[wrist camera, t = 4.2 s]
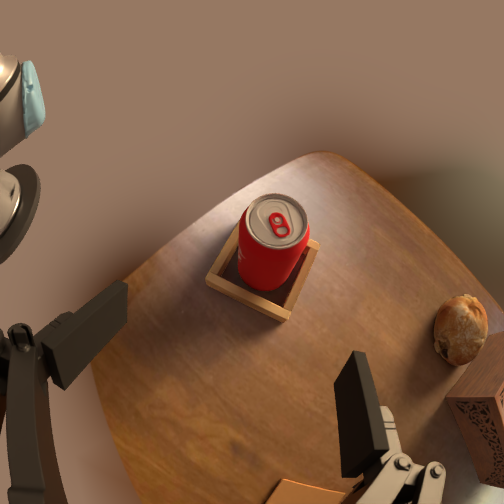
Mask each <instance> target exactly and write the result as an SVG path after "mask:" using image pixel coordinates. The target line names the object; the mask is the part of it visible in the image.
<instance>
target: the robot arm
mask: <svg viewBox="0 0 504 504" xmlns="http://www.w3.org/2000/svg"><path fill="white" fill-rule="evenodd" d="M44 119H45V108H44V102H43V97H42V93H41V89H40V85H39V81H38V77H37V74H36V71H35V68H34V65H33V63H32V62H31V61H27V62H23V63H22V65H20V64H19V62H18V60H17V58H16V57H15V56H12V55H10V56H2V54H1V52H0V157H2V156H3V155H4V154H5V153H7V152H8V151H9V150H11V149H12V148H13V147H14V146H15V145H17V144H18V143H20V142H21V141H22V140H24V139H25V138H27V137H28V136H29V135H30V134H31V133H32V132H34V131H35V130H36V129H38V128H39V127H40V126H41V125H42V124H43V122H44ZM22 193H23V191H22V185H21V183H20V182H19V181H18V179H17V178H16V177H14V176H13V175H12V174H10V173H7V172H5V171H3V170H1V169H0V239H1V238H2V237H3V236H4V235H5V233H6V232H7V231H8V229H9V228H10V226H11V225H12V223H13V221H14V219H15V217H16V215H17V213H18V210H19V207H20V204H21V200H22ZM127 293H128V284H127V283H124V282H122V281H119V280H116V281H115V282H114V283H112V284H111V285H110V286H108V287H107V288H106V289H104V290H103V291H102V292H100V293H99V294H98V295H97V296H95V297H94V298H93V299H91V300H90V301H89V302H88V303H86V304H85V305H84V306H83V307H81V308H80V309H79V310H78V311H76V312H75V313H74V314H73V313H72V312H69V311H68V312H66V313H63V314H61V315H59V316H58V317H57V318H55V319H54V321H52V322H50V323H49V325H47V326H45V327H44V328H43V329H42V330H41V331H39V332H38V333H37V334H36V335H34V336H33V334H32V330H31V328H30V327H29V326H28V325H26V324H23V323H18V324H15V325H13V326H11V327H10V328H9V329H8V332H7V333H8V336H9V339H8V338H5V337H4V334H3V331H2V330H1V329H0V434H1V429H2V424H3V420H4V416H5V412H6V434H7V451H8V461H9V469H10V476H11V487H10V488H9V489H8V492H7V494H8V501H9V504H68V502H67V499H66V495H65V492H64V488H63V484H62V481H61V476H60V472H59V468H58V463H57V458H56V453H55V447H54V441H53V434H52V428H51V419H50V408H49V394H48V382H47V379H48V378H49V377H50V376H51V378H52V380H53V383H54V384H55V385H57V386H58V387H60V388H61V389H63V390H64V391H65V390H66V389H67V388H68V386H69V385H70V384H71V383H72V382H73V381H74V379H75V378H76V377H77V376H78V375H79V374H80V373H81V372H82V371H83V369H84V368H85V367H86V366H87V365H88V364H89V363H90V362H91V360H92V359H93V358H94V357H95V356H96V355H97V354H98V353H99V352H100V351H101V349H102V348H103V347H104V346H105V345H106V344H107V343H108V342H109V341H110V340H111V339H112V338H113V337H114V335H115V334H116V333H117V332H118V331H119V330H120V329H121V328H122V327H123V326H124V325H125V324H126V323H127ZM334 391H335V400H336V410H337V420H338V431H339V443H340V456H341V473H342V478H357V477H358V476H359V475H360V474H362V473H363V476H364V479H363V480H361V481H360V482H358V483H357V484H356V485H354V486H353V487H352V488H354V489H353V490H352V492H351V493H350V494H349V495H348V496H347V497H346V498H345V499H344V501H343V502H342V503H341V504H441V500H442V495H443V489H444V484H445V477H446V471H445V468H444V466H443V465H442V464H441V463H439V462H435V461H433V462H430V463H429V464H428V465H426V466H421V465H417V464H413V462H412V460H411V458H410V457H409V456H408V455H406V454H404V453H402V450H401V446H400V442H399V438H398V434H397V430H396V426H395V423H394V419H393V415H392V413H391V411H390V410H389V409H388V407H387V406H380V404H379V400H378V397H377V393H376V389H375V385H374V382H373V378H372V375H371V371H370V368H369V364H368V361H367V358H366V354H365V353H364V352H359V351H354V350H353V352H352V354H351V355H350V357H349V359H348V361H347V362H346V364H345V366H344V367H343V369H342V371H341V372H340V374H339V376H338V377H337V379H336V381H335V382H334Z"/></svg>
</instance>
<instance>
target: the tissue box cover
mask: <svg viewBox="0 0 504 504" xmlns="http://www.w3.org/2000/svg"><path fill="white" fill-rule="evenodd" d="M445 398H446V400H447V402H448V404H449V406H450V408H451V410H452V413H453V415H454V417H455V419H456V421H457V424H458V426H459V428H460V431H461V433H462V435H463V438H464V440H465V443H466V445H467V448H468V450H469V453H470V455H471V458H472V461H473V463H474V466H475V469H476V472H477V475H478V478H479V481H480V483H482V484H486V485H490V486H494V487H499V488H504V331H503V332H499V333H496V334H492V335H489V337H488V338H487V340H486V342H485V343H484V345H483V347H482V349H481V351H480V353H479V354H478V355H477V356H476V357H475V358H474V360H473V361H472V363H471V364H470V365H469V367H468V368H467V370H466V371H465V372H464V374H463V375H462V376H461V378H460V379H459V380H458V382H457V383H456V384H455V385H454V387H453V388H452V389H451V390H450V392H449V393H448V394H447V395H446V396H445Z"/></svg>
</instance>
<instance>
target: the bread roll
mask: <svg viewBox="0 0 504 504" xmlns="http://www.w3.org/2000/svg"><path fill="white" fill-rule="evenodd" d="M487 321H488V320H487V315H486V312H485V310H484V308H483V306H482V305H481V304H480V303H479V301H478V300H477V299H476V297H475V298H472V297H471V296H470V295H467V294H464V295H463V296H458V297H453V298H452V299H450V300H448V301H446V302H445V303H444V304H443V305H442V306H441V307H440V309H439V310H438V313H437V316H436V320H435V326H434V338H435V343H434V348H435V350H436V351H437V353H440V354H441V356H442V357H443V358H444V359H445V360H447V362H449V363H450V364H452V365H464V364H467V363H469V362H470V361H472V360H473V359H474V358H475V357H476V356H477V355H478V354H479V353H480V351H481V349H482V347H483V345H484V343H485V340H486V336H487V331H488V322H487Z"/></svg>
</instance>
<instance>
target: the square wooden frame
mask: <svg viewBox="0 0 504 504" xmlns="http://www.w3.org/2000/svg"><path fill="white" fill-rule="evenodd" d="M240 219H241V218H240ZM239 222H240V220H239ZM239 222H238V223H237V225H236V227H235V228H234V230H233V232H232V233H231V235H230V237H229V238H228V240H227V242H226V243H225V245H224V247H223V248H222V250H221V252H220V253H219V255H218V257H217V259H216V260H215V262H214V264H213V265H212V267H211V269H210V271H209V272H208V274H207V276H206V277H205V281H206V284H207V285H208V286H210V287H212V288H214V289H216V290H217V291H219V292H221V293H223V294H225V295H227V296H229V297H231V298H233V299H235V300H237V301H239V302H241V303H243V304H245V305H247V306H249V307H251V308H253V309H255V310H257V311H259V312H261V313H263V314H265V315H267V316H270V317H272V318H274V319H276V320H278V321H280V322H282V323H284V322H285V321H287V320H288V318H289V316H290V313H291V311H292V309H293V307H294V305H295V303H296V300H297V298H298V296H299V294H300V291H301V289H302V287H303V285H304V282H305V280H306V278H307V276H308V273H309V271H310V269H311V266H312V264H313V262H314V259H315V257H316V254H317V252H318V250H319V247H320V244H319V243H317V242H315V241H313V240H311V239H309V240H308V243H307V245H306V247H305V249H304V250H303V252H302V254H304V255H305V258H304V260H303V262H302V264H301V266H300V269H299V271H298V273H297V275H296V278H295V280H294V282H293V284H292V286H291V288H290V291H289V293H288V295H287V297H286V299H285V301H284V303H283V306H282V307H280V306H278V305H276V304H274V303H272V302H269V301H267V300H265V299H263V298H261V297H259V296H257V295H255V294H253V293H251V292H249V291H247V290H245V289H243V288H241V287H239V286H237V285H235V284H233V283H231V282H229V281H227V280H225V279H223V278H221V275H222V274H223V272H224V270H225V268H226V267H227V265H228V263H229V261H230V260H231V258H232V256H233V254H234V252H235V251H236V249H237V247H238V239H239Z"/></svg>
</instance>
